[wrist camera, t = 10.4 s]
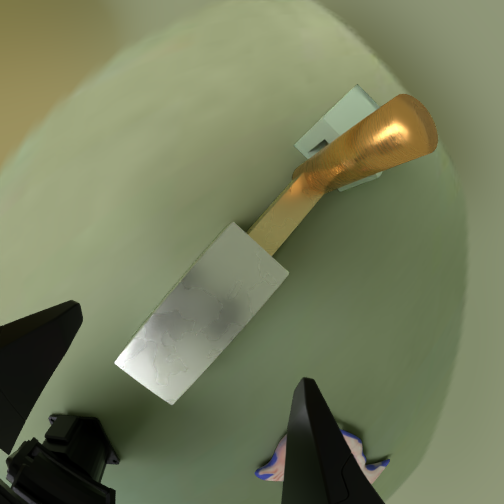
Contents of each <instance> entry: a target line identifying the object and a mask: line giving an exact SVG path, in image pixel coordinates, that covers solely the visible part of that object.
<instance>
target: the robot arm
mask: <svg viewBox="0 0 504 504" xmlns="http://www.w3.org/2000/svg"><path fill="white" fill-rule="evenodd" d="M82 322H83V316H82V311H81V306H80V304H79V303H78V302H76V301H73V300H70V301H67V302H64V303H61V304H59V305H56V306H53V307H50V308H48V309H45V310H42V311H40V312H37V313H34V314H32V315H29V316H26V317H24V318H21V319H18V320H16V321H13V322H10V323H8V324H5V325H4V326H3V325H2V326H0V449H2V450H3V451H4V452H5V453H7V454H8V455H9V454H10V452H11V450H12V448H13V446H14V444H15V442H16V440H17V438H18V436H19V434H20V431H21V430H22V428H23V426H24V424H25V422H26V420H27V418H28V416H29V414H30V412H31V410H32V408H33V407H34V405H35V403H36V401H37V399H38V398H39V396H40V394H41V392H42V391H43V389H44V387H45V386H46V384H47V382H48V381H49V379H50V377H51V376H52V374H53V372H54V371H55V369H56V368H57V366H58V365H59V363H60V361H61V360H62V358H63V357H64V355H65V354H66V352H67V350H68V349H69V347H70V345H71V343H72V341H73V339H74V337H75V335H76V333H77V332H78V330H79V328H80V326H81V324H82ZM49 421H50V423H51V427H50V428H49V430H48V431H47V432H46V434H45V438H46V439H45V441H44V442H43V444H41V443H39V442H38V440H37V439H36V438H34V437H33V439H32V440H31V441H30V440H28V441H24V442H23V443H22V445H21V446H20V447H19V449H18V450H17V451H16V452H14V453H13V454H12V455H10V456H9V457H8V458H7V460H6V464H7V467H8V470H7V473H8V474H7V477H6V479H7V480H8V481H9V482H10V483H12V486H11V488H10V487H9V486H8V485H7V484H5V483H4V482H3V481H2V480H1V479H0V504H115V494H116V490H114V489H112V488H108V487H106V486H105V485H103V484H101V479H102V476H103V473H104V470H105V467H106V464H119V462H120V459H119V458H118V456H117V454H116V452H115V451H114V449H113V447H112V445H111V443H110V441H109V439H108V437H107V435H106V433H105V431H104V429H103V427H102V425H101V423H100V421H99V420H98V419H97V418H94V417H78V416H66V415H50V416H49ZM93 421H94V422H96V423H94V422H93ZM115 460H116V461H115ZM281 504H385V503H384V502H383V500H382V499H381V497H380V496H379V495H378V493H377V492H376V490H375V489H374V488H373V486H372V485H371V483H370V482H369V481H368V479H367V477H366V476H365V474H364V473H363V471H362V470H361V468H360V466H359V464H358V463H357V461H356V459H355V457H354V455H353V453H352V451H351V449H350V448H349V446H348V444H347V442H346V440H345V438H344V436H343V434H342V432H341V430H340V428H339V426H338V425H337V423H336V421H335V419H334V417H333V415H332V413H331V411H330V409H329V407H328V405H327V403H326V401H325V399H324V398H323V396H322V394H321V392H320V390H319V388H318V386H317V384H316V382H315V380H314V379H312V378H306V377H303V378H302V379H301V381H300V382H299V384H298V385H297V387H296V389H295V391H294V394H293V400H292V406H291V411H290V417H289V422H288V428H287V440H286V455H285V468H284V480H283V491H282V502H281Z"/></svg>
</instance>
